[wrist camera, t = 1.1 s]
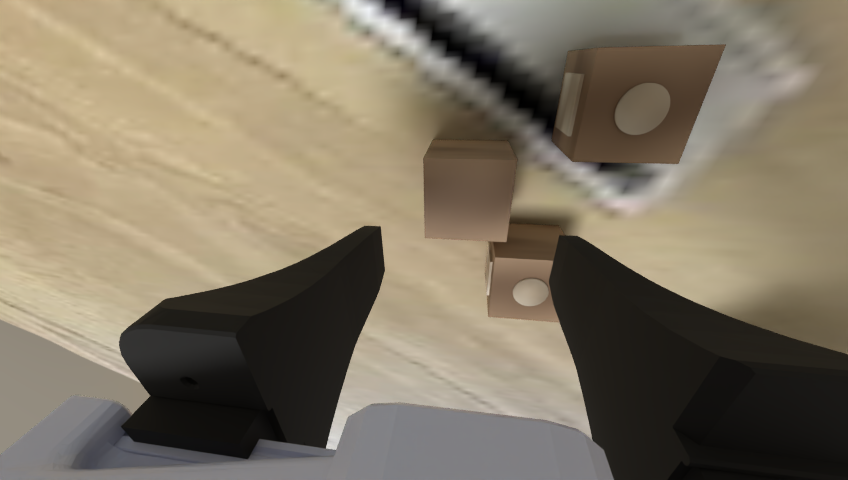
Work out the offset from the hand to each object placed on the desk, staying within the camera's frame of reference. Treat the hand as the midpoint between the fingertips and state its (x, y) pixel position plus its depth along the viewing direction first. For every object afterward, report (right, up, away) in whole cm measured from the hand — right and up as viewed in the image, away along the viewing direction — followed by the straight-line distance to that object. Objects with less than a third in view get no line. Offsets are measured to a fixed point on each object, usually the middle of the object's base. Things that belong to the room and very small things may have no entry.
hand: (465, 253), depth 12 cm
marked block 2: (+5, 0, +10) cm, 12 cm away
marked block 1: (+8, +8, +5) cm, 13 cm away
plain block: (+1, +5, +8) cm, 10 cm away
